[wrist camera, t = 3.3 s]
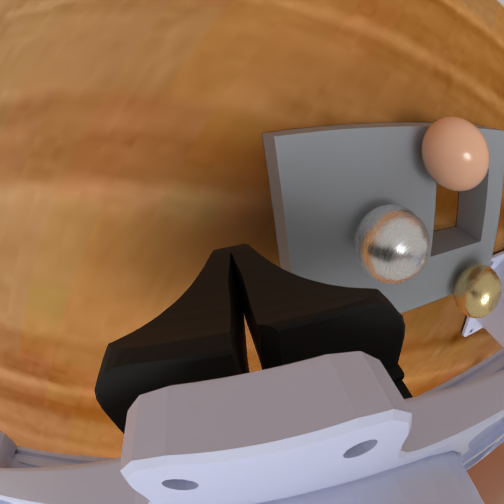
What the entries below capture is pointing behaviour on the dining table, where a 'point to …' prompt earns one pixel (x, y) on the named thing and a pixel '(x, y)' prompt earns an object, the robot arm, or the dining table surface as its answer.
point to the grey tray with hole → (374, 204)
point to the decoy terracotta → (455, 153)
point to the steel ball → (391, 244)
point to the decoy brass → (477, 291)
